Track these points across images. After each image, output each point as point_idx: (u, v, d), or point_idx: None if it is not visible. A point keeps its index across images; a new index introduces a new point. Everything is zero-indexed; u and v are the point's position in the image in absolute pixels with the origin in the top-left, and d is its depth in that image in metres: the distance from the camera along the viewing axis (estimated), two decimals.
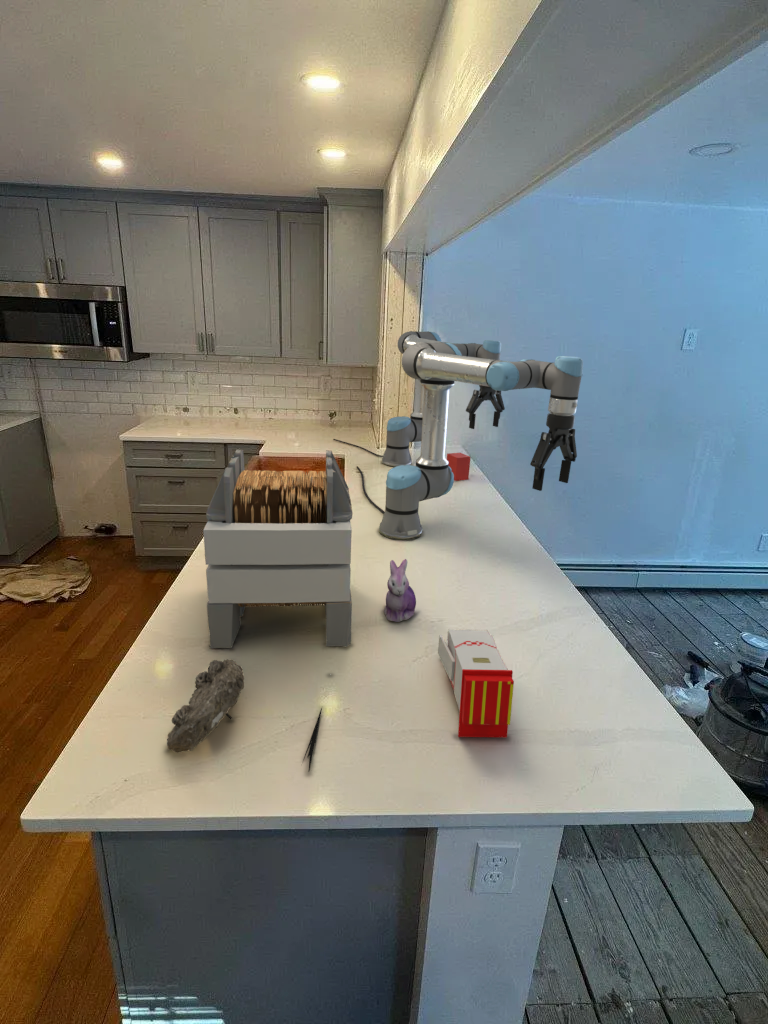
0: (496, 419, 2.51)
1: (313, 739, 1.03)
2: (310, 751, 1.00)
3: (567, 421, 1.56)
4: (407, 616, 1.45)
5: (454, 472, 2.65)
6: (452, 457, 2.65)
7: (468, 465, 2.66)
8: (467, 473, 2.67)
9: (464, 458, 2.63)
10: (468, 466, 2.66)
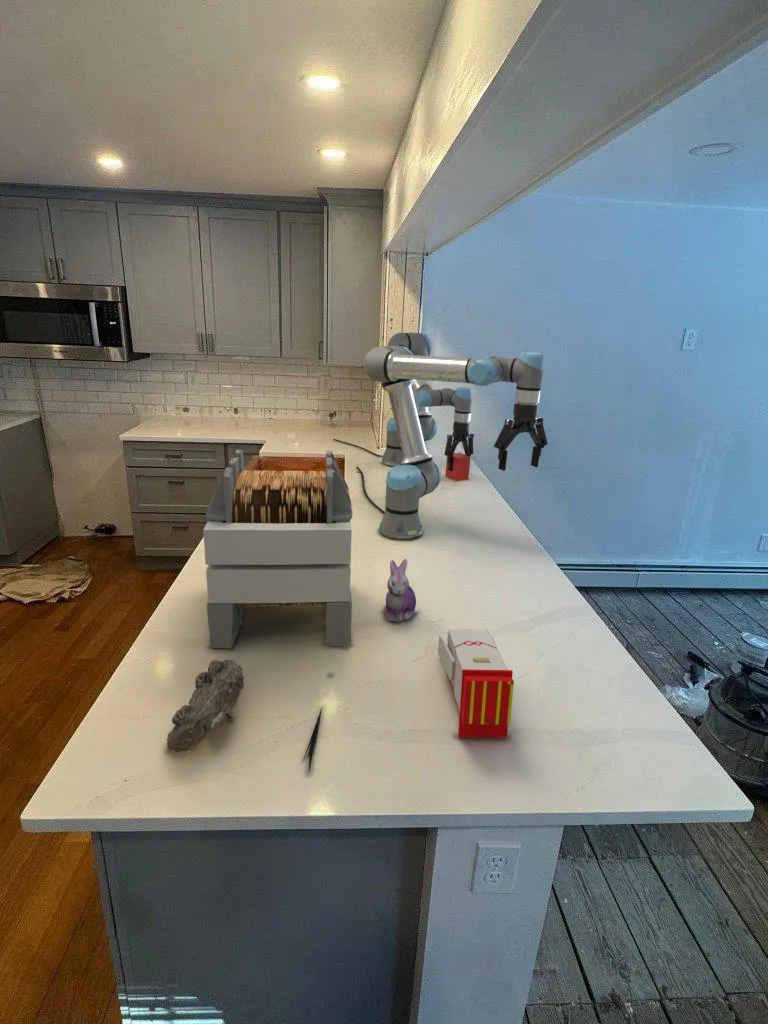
0: None
1: (313, 739, 1.03)
2: (310, 751, 1.00)
3: None
4: (407, 616, 1.45)
5: (454, 472, 2.65)
6: None
7: (468, 465, 2.66)
8: (467, 473, 2.67)
9: (464, 458, 2.63)
10: (468, 466, 2.66)
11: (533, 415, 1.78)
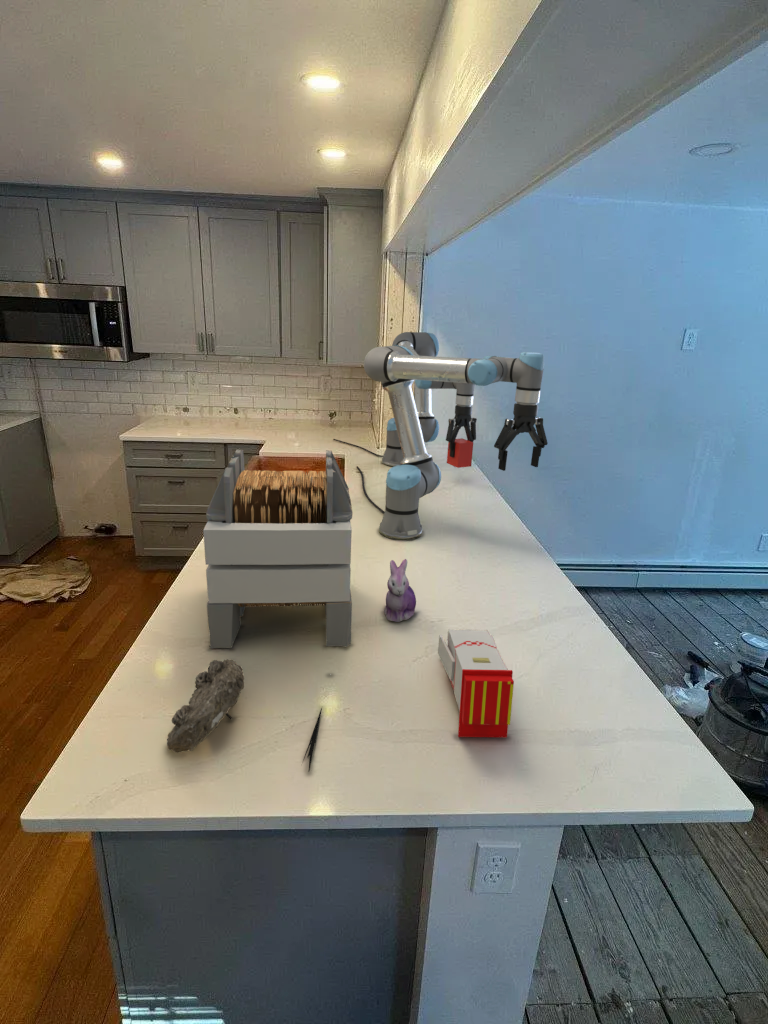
0: None
1: (313, 739, 1.03)
2: (310, 751, 1.00)
3: None
4: (407, 616, 1.45)
5: (456, 458, 2.52)
6: None
7: (471, 451, 2.53)
8: (470, 460, 2.54)
9: (466, 444, 2.50)
10: (471, 452, 2.53)
11: (533, 415, 1.78)
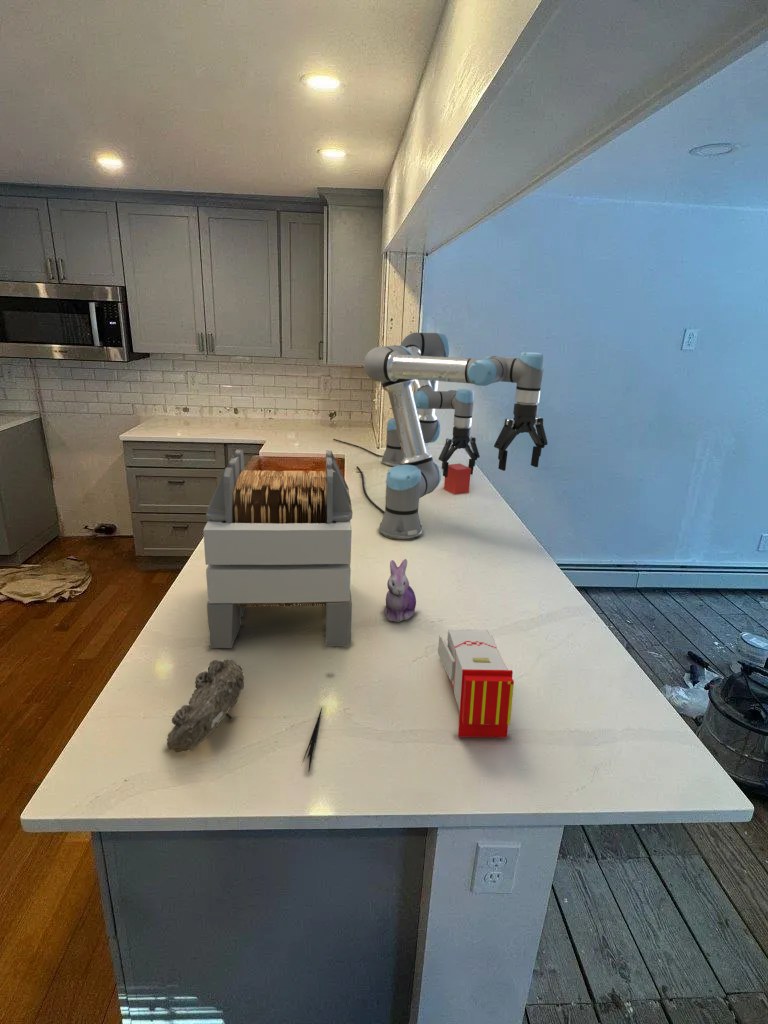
0: None
1: (313, 739, 1.03)
2: (310, 751, 1.00)
3: None
4: (407, 616, 1.45)
5: (453, 485, 2.45)
6: (451, 469, 2.45)
7: (468, 477, 2.46)
8: (467, 486, 2.47)
9: (464, 470, 2.44)
10: (469, 478, 2.46)
11: (533, 415, 1.78)
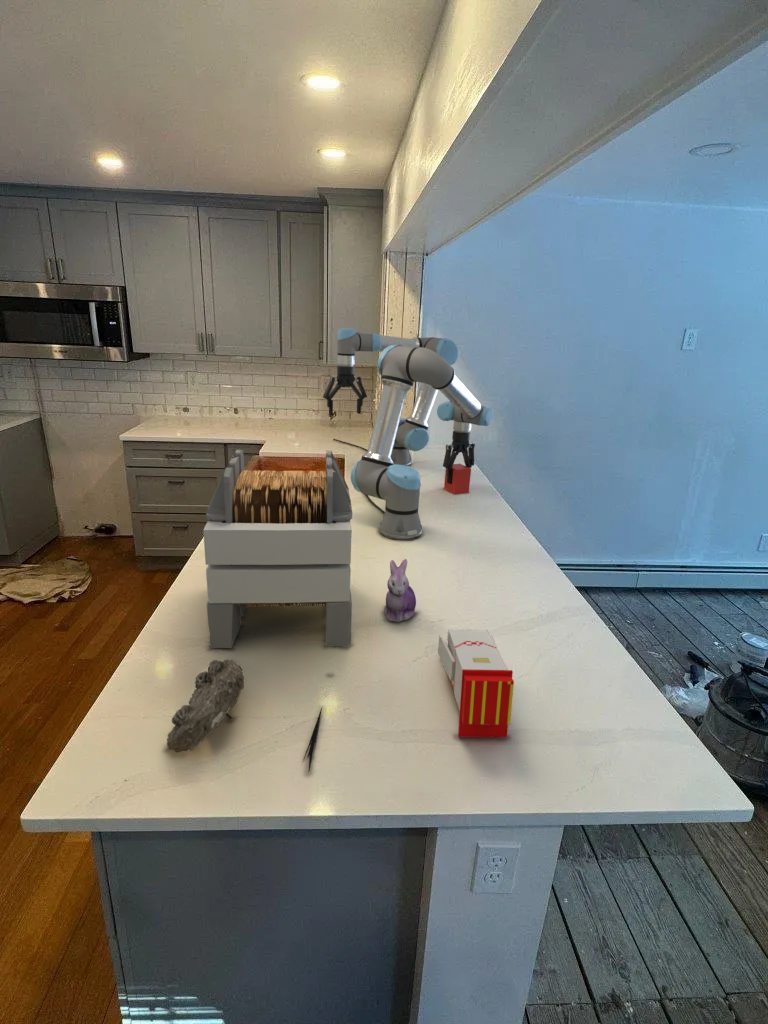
0: None
1: (313, 739, 1.03)
2: (310, 751, 1.00)
3: None
4: (407, 616, 1.45)
5: (453, 485, 2.45)
6: None
7: (468, 477, 2.46)
8: (467, 486, 2.47)
9: (464, 470, 2.44)
10: (469, 478, 2.46)
11: (466, 440, 2.40)
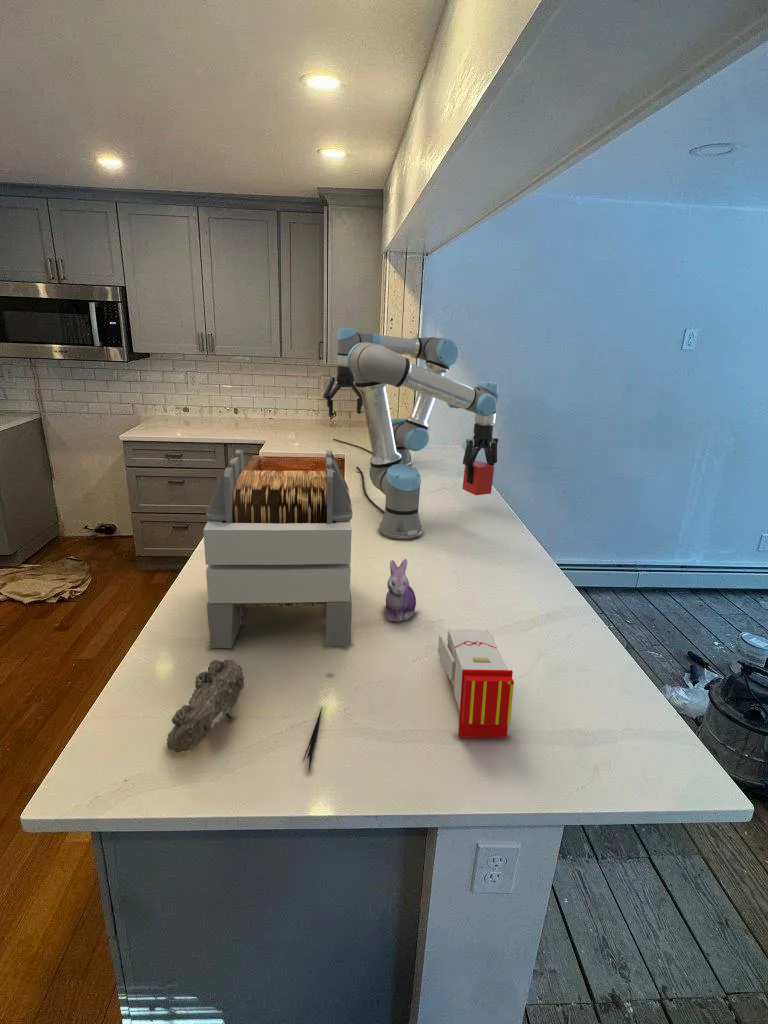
0: None
1: (313, 739, 1.03)
2: (310, 751, 1.00)
3: None
4: (407, 616, 1.45)
5: (474, 485, 2.17)
6: (472, 466, 2.17)
7: (491, 476, 2.18)
8: (490, 486, 2.19)
9: (486, 468, 2.16)
10: (492, 477, 2.18)
11: (490, 434, 2.12)
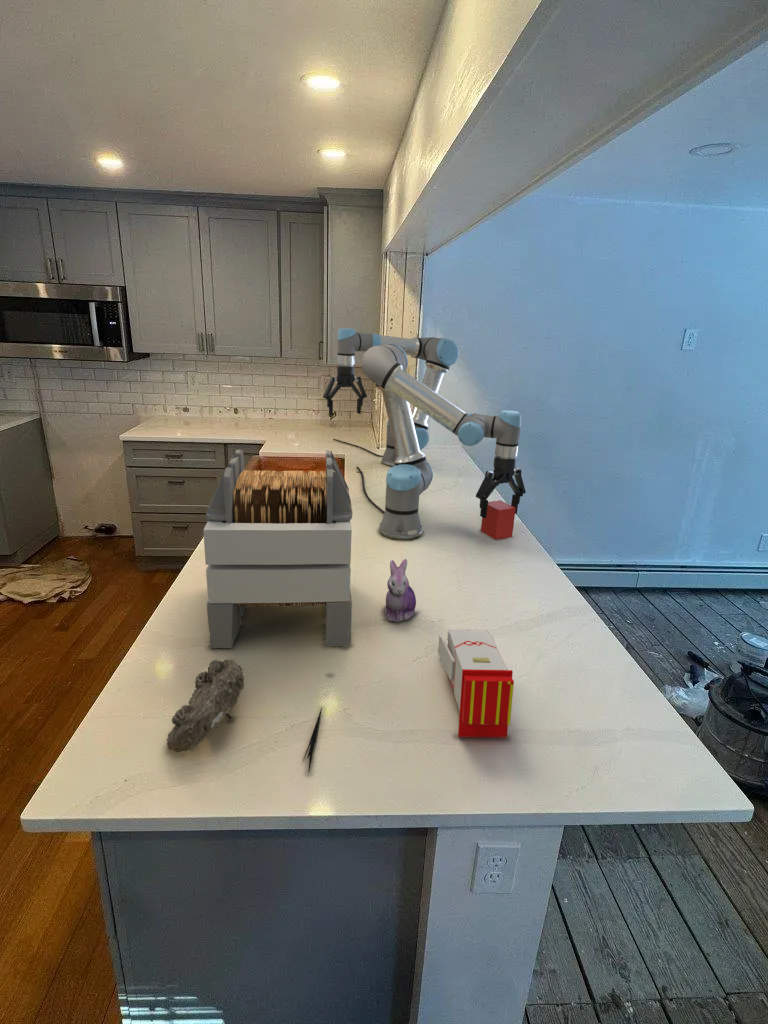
0: None
1: (313, 739, 1.03)
2: (310, 751, 1.00)
3: None
4: (407, 616, 1.45)
5: (494, 528, 1.98)
6: (491, 508, 1.98)
7: (512, 519, 1.99)
8: (511, 529, 2.00)
9: (507, 510, 1.97)
10: (513, 520, 1.99)
11: (511, 468, 1.92)
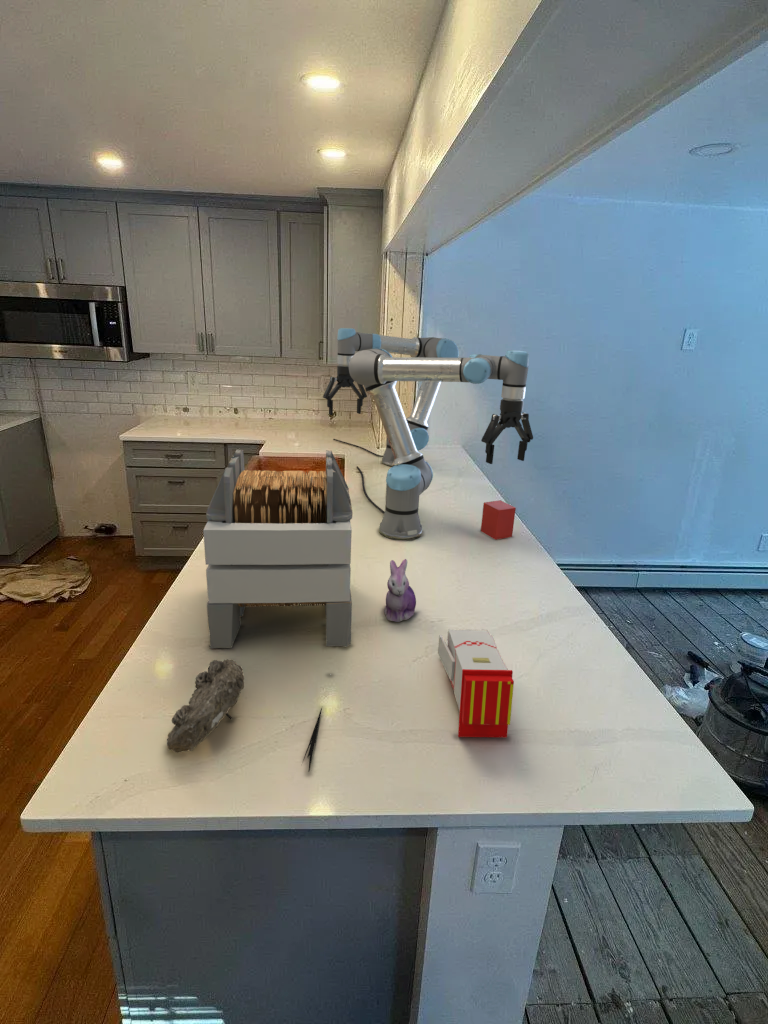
0: None
1: (313, 739, 1.03)
2: (310, 751, 1.00)
3: None
4: (407, 616, 1.45)
5: (494, 528, 1.98)
6: (491, 508, 1.98)
7: (512, 519, 1.99)
8: (511, 529, 2.00)
9: (507, 510, 1.97)
10: (513, 520, 1.99)
11: (519, 410, 1.86)
